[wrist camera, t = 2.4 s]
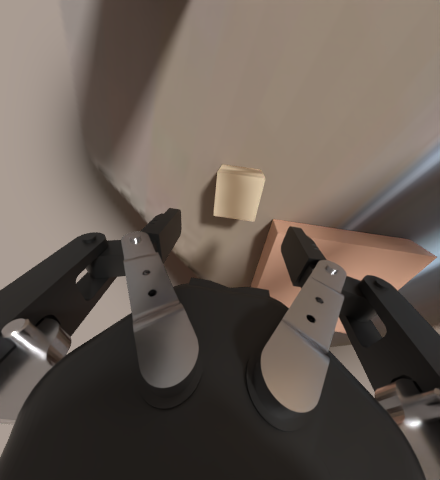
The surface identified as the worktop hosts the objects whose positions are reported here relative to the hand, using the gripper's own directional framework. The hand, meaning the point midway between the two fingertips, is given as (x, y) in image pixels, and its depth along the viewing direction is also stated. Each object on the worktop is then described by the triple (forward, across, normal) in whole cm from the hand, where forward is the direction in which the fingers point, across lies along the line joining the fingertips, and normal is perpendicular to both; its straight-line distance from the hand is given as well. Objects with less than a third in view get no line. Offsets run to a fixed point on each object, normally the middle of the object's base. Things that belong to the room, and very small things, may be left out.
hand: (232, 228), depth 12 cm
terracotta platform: (+12, -16, +14) cm, 25 cm away
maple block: (+12, 0, 0) cm, 12 cm away
